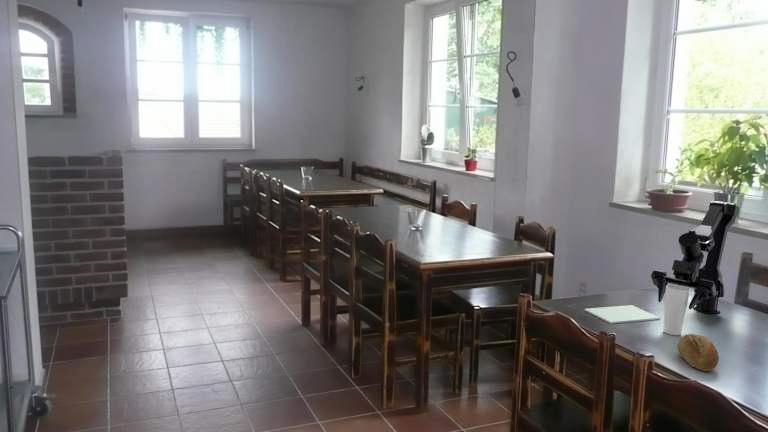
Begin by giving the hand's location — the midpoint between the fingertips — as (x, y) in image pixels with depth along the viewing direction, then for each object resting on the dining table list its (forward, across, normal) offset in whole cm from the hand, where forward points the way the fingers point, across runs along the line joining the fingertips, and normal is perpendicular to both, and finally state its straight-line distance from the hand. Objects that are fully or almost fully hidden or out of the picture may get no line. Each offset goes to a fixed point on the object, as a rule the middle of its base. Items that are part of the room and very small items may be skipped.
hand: (674, 305), depth 204 cm
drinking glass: (+6, 0, +8) cm, 10 cm away
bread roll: (+21, +14, -7) cm, 26 cm away
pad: (+2, -19, +12) cm, 22 cm away
